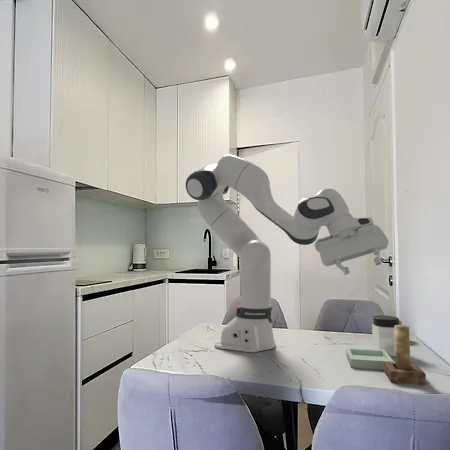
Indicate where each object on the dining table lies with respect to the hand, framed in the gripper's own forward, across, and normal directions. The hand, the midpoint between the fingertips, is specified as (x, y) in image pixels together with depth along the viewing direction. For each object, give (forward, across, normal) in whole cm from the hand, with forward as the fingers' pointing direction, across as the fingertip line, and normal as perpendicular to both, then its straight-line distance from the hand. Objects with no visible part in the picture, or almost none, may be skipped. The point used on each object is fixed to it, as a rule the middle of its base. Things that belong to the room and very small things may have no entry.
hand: (363, 268), depth 101 cm
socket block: (+29, 0, +12) cm, 31 cm away
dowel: (+29, 0, +12) cm, 31 cm away
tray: (+21, -6, +22) cm, 31 cm away
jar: (+18, +3, +34) cm, 38 cm away
